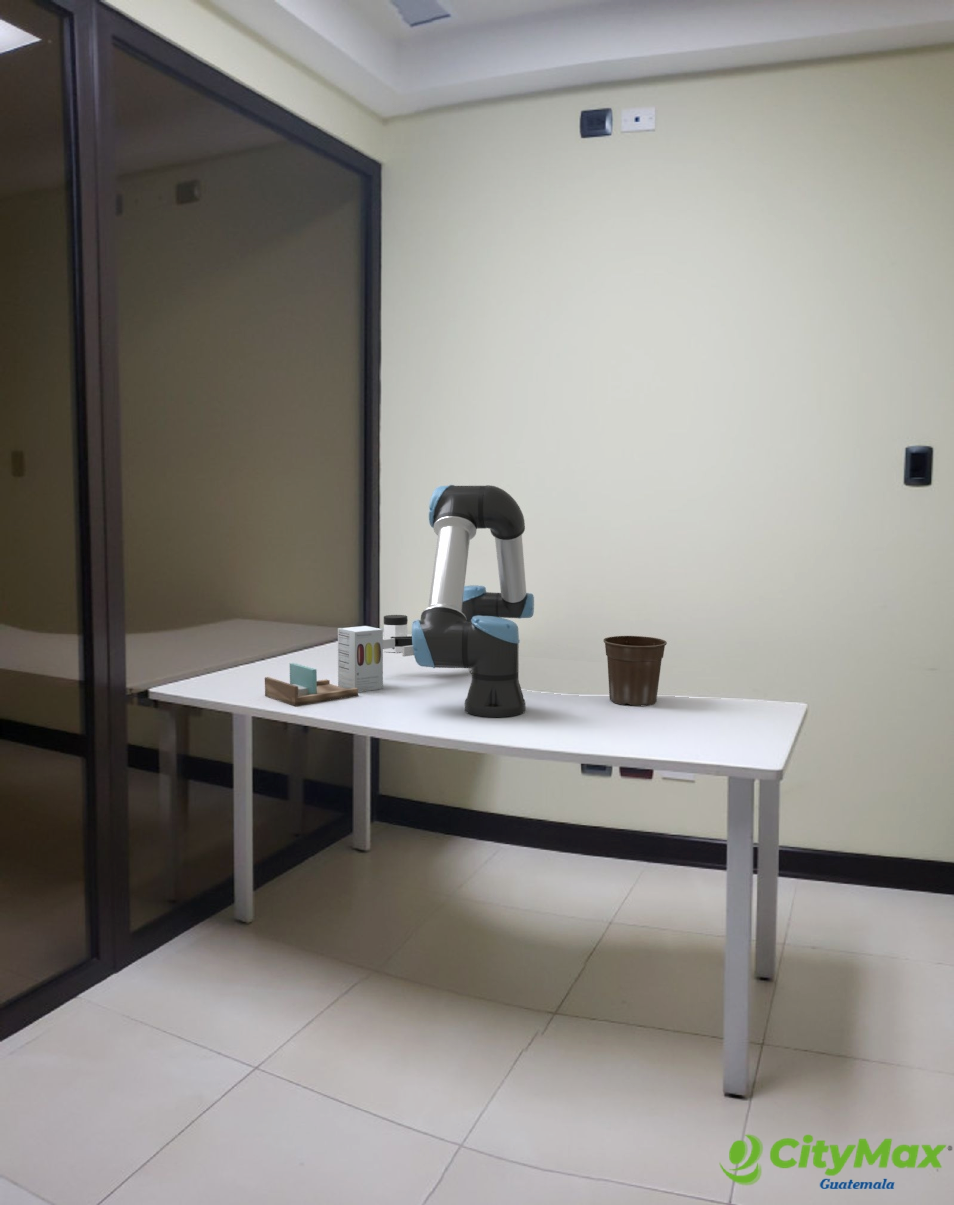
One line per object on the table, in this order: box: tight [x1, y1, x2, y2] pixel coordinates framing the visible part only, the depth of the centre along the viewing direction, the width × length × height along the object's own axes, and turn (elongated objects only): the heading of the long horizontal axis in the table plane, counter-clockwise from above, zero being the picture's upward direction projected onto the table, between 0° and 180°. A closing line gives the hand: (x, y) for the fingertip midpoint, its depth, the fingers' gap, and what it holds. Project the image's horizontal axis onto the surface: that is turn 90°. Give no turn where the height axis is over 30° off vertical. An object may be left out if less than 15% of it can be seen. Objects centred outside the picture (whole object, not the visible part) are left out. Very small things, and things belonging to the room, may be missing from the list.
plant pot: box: [603, 635, 668, 707], centre depth 245 cm, size 16×16×16 cm
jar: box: [383, 614, 408, 653], centre depth 322 cm, size 9×8×12 cm
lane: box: [264, 676, 359, 707], centre depth 251 cm, size 19×16×5 cm
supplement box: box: [337, 625, 384, 693], centre depth 260 cm, size 10×9×17 cm
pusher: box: [289, 662, 318, 696], centre depth 249 cm, size 4×12×7 cm, turn 40°
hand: (389, 648), depth 267 cm, fingers open, 13 cm apart
